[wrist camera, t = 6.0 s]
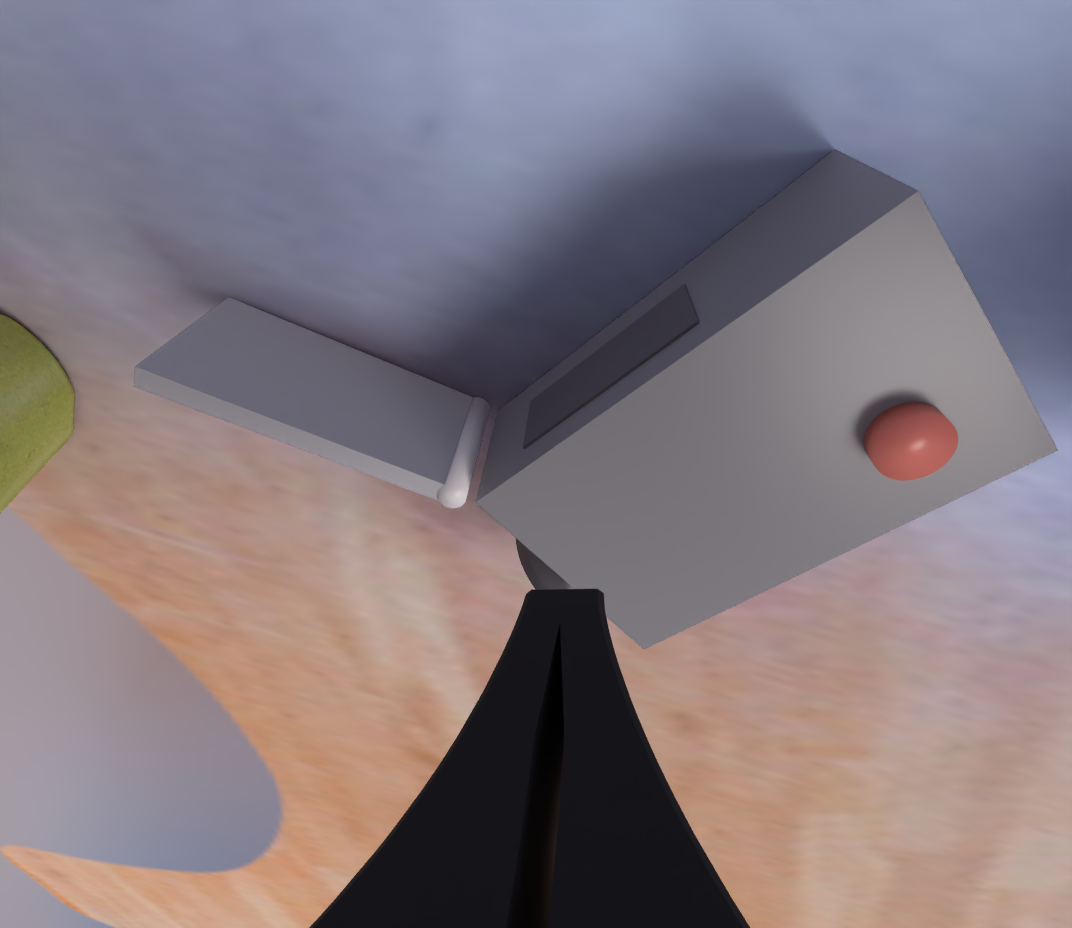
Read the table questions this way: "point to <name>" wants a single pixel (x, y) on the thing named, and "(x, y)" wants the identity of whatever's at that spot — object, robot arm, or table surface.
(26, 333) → the plant pot
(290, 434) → the side door
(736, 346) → the camera body
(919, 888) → the table surface
